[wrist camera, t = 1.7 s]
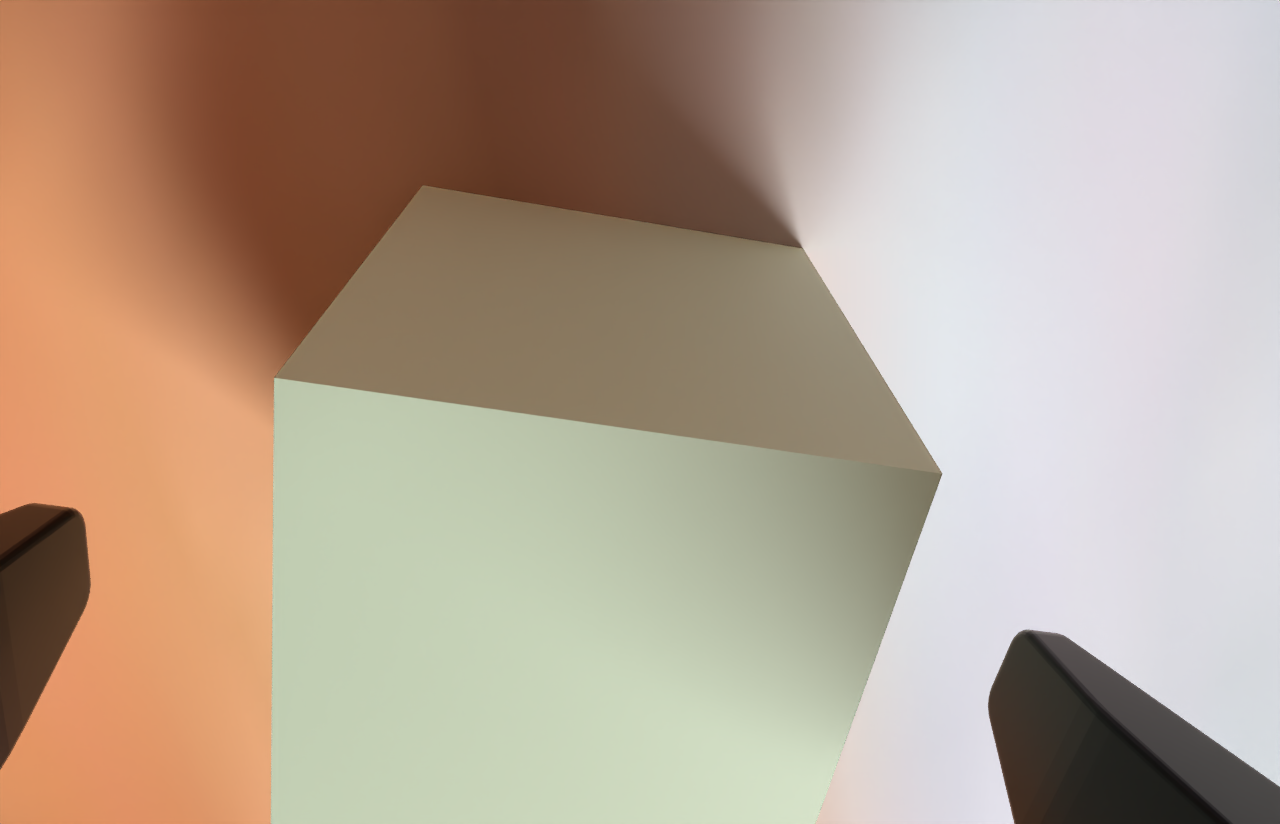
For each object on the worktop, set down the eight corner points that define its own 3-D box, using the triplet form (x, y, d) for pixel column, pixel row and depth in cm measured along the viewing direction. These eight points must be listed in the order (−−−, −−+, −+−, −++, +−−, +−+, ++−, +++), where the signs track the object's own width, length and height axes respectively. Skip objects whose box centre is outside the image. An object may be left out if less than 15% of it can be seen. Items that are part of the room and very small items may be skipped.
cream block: (722, 555, 15) (786, 904, 9) (398, 513, 14) (270, 857, 9) (802, 246, 13) (943, 473, 7) (423, 184, 12) (274, 376, 7)
